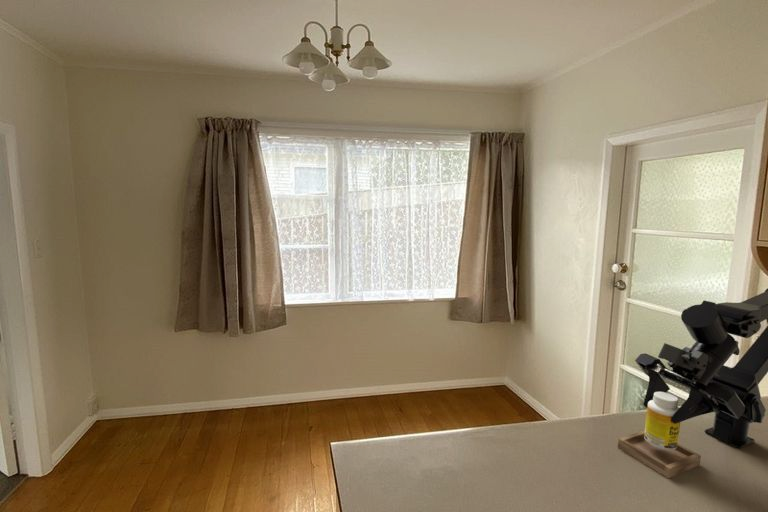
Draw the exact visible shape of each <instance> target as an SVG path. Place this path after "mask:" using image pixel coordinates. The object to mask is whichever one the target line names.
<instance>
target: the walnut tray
mask: <svg viewBox="0 0 768 512" xmlns="http://www.w3.org/2000/svg"><path fill="white" fill-rule="evenodd" d="M644 432H645V429H644V430H641V431H638V432H635V433H632V434H628V435H626V436H625V435H624V436H622V437H619V438H618V442H617V443H618V444H617V448H618V449H619V450H621V451H622V452H623V453H626V454H628V455H630V456H631V457H633V458H634V459H636V460H638V461H639V462H641V463H643V464H644V465H645V466H647V467H649V468H651V469H652V470H654V471H655V472H657V473H659V474H660V475H662V476H664V477H665V478H667V479H671V478H673V477H675V476H678V475H679V474H682V473H685V472H687V471H690V470H691V469H694V468H696V467H698V466H700V463H701V459H702V455H700V454H699V453H696V452H695V451H693V450H691V449H690V448H687V447H685V446H683V445H681V444H679V443H678V444H677V448H676V449H674V450H671V451H668V450H662V449H658V448H656V447H654V446H652V445H650V444H649V443H648V442H647V441H646V440H645V438H644Z"/></svg>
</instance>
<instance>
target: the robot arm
mask: <svg viewBox="0 0 768 512" xmlns="http://www.w3.org/2000/svg"><path fill="white" fill-rule="evenodd" d="M681 312H682V313H681V315H680V319H681V322H682V323H683V324H684V326H685V328H686V329H687V331H688V333H689V334H690V336H691V338H692V339H693V340H694V341H695V342H694V344H692V346H691V347H687V346H685V347H683V348H679V347H676V346H674V345H671V344H668V343H665V342H664V343H663V345H662V348H661V350H659V354H658V356H657V357H655V356H653V355H651V354H648V353H640V354H639V355H638V356H637V357H636V358H635V359H634V362H635V363H636V364H637V365H638V367H639V368H640V369H641V371H642V372H643V373H644V374H645V375H646V376H647V377H648V385H647V389H646V394H645V397H644V400H643V407H644V408H646V409H647V406H648V402H649V401H650V400H653V397H654V393H655V392H666V393H668V391H670V389H671V387H670V386H669V385H668V384H667V382H668V380H670V381H672V382H674V383H676V384H678V385H680V386H683V387H685V388H687V389H689V393H688V397H687V399H686V400H685V401H684V402H683V403H682V404H681V406H680V407H679V409H678V410H677V411H676V413H675V414H674V415H673V417H672V419H671V421H672V422H673V423H674V424H676V423H679V422H680V423H682V422H684V421H687V420H690V419H693V418H695V417H699V416H704V415H706V414H711V413H714V420H713V426H712V427H709V428H707V429H705V430H704V433H705V434H707V435H710V436H711V437H714V438H715V439H718V440H720V441H722V442H724V443H726V444H728V445H730V446H733V447H735V448H737V449H742V448H744V447H746V446H749V445H750V444H751V445H752V444H753V443H755V441H756V440H755V439H754V438H751V437H749V429H750V425H751V424H752V423H753V424H754V423H758V424H762V423H763V419H764V417H765V416H766V415H765V414H766V408H765V405H764V403H763V401H762V399H761V398H762V396H761V391H760V387H759V384H760V382H761V381H762V380H763V379H764V378H765V376H766V375H767V374H768V288H766V289H765V290H764V292H761V293H759V294H757V295H754V296H753V297H749V298H747V299H745V300H743V301H741V302H730V301H729V302H728V301H727V302H720V303H716V302H713V301H708V300H703V301H702V302H701V304H700V303H699V304H694V305H690V306H689V307H687V308H685V309H684V310H682V311H681ZM765 320H766V324H767V325H766V328H764V329H763V331H762V332H761V333H760V335H758V337H757V338H756V339H755V341H753V343H752V344H751V346H750V347H749V348H748V349H747V350H746V352H745V353H744V354H743V356H741V357H740V359H739V360H738V361H737V363H736V364H735V365H734V366H733V367H731V366H727V365H725V364H726V362H727V361H728V360H729V359H730V358H731V356H733V355H735V356H739V355H740V351H741V350H740V348H739V341H737V340H736V339H735V338H734V337H733V336H736V337H741V338H744V339H749V338H751V337H752V336H754V335H756V334H758V332H759V331H760V329H761V327H762V324H761V323H762V322H764V321H765ZM660 359H661V360H666V361H668V362H667V365H668V366H669V367H670V368H672V369H669V368H667V367H666V366H665V364H664V363H663V362H662V361H661V360H660Z"/></svg>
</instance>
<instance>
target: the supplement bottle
mask: <svg viewBox="0 0 768 512" xmlns="http://www.w3.org/2000/svg"><path fill="white" fill-rule="evenodd" d="M678 405H679V398H678V397H677V396H676V395H674V394H672V393H669V392H655V393H654V397H653V400H650V401H649V402H648V406H647V408H646V415H645V423H644V424H645V425H644V430H645V432H644V438H645V440H646V441H647V442H648V443H649V444H650V445H652V446H654V447H656V448H658V449H662V450H668V451H671V450H674V449H676V448H677V444H679V437H680V435H679V434H680V427H681V422H679V423H676V424H674V423H673V422H672V421H671V419H672V417H673V415H674V414H675V413H676V411H677V410H678V409H679V408H680V407H679V406H678Z"/></svg>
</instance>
